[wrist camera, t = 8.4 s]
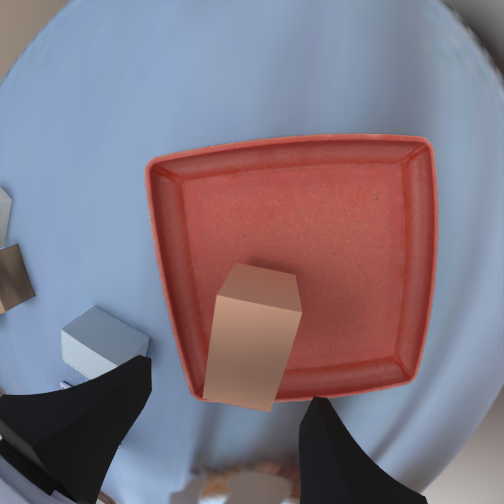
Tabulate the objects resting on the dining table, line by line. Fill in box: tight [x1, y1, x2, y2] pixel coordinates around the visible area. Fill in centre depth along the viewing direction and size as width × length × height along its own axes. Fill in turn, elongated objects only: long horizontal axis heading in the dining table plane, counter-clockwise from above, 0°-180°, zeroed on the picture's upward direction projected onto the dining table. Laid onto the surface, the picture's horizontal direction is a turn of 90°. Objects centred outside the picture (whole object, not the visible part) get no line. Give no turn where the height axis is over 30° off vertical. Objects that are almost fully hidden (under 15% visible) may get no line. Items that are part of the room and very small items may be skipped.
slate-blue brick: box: [61, 306, 150, 379], centre depth 19 cm, size 6×4×5 cm, turn 69°
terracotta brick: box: [203, 263, 302, 412], centre depth 14 cm, size 6×4×5 cm, turn 169°
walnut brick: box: [0, 244, 35, 314], centre depth 19 cm, size 6×4×5 cm, turn 19°
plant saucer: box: [145, 134, 438, 403], centre depth 17 cm, size 18×18×3 cm
